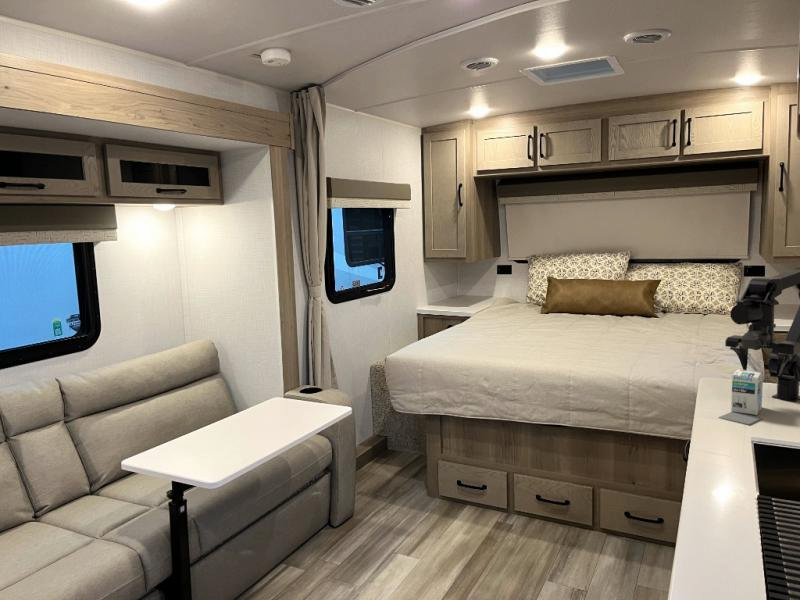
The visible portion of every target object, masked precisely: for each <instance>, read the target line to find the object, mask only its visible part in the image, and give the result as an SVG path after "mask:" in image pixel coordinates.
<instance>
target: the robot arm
mask: <svg viewBox="0 0 800 600" xmlns="http://www.w3.org/2000/svg"><path fill="white" fill-rule="evenodd" d="M794 286H795V288H796V289H797V290H798V293H797V295H798V298H799V300H800V267H796V268H793V269H792V270H789V271H785V272H783V273H780V274H776V275H774V276H769V277H767V276H766V277H763V276H761V277H753V278H751V279H750V280H749V282H748V284H747V286H746V288H745V289H744V291H743V294H742V295H741V297H740V300H737V301H736V305H734V306H733V307H732V308H731V310H730V312H729V313H730V318H731V320H732V321H733V323H735V324H736V325H739V326H740V325H747V324H749V326H748V330H747V332H745V333H744V334H743V335H736V334H735V335H730V336H728V337H726V338H725V343H724V344H725V347H729V349H730V351H731V350H732V351H734V352H735V354H736V355H737V358H738V359H739V362H740V364H741V368H742V370H747V369H748V362H749V361H748V359H749V349H750V350H753V351H760V350H761V349H762V348H763V349H771V352H770V355H769V356H768V360H767V368H768V372H769V377H771V378H772V377H773V378H776V394H773V395H771V398H772V399H776V400H777V399H778V400H784V401H789V402H794V403H795V402H797V401H799V400H800V305H799V306H798V308H797V311H796V314H795V315H794V318H793V321H792V323H791V325H790V327H789V330H788V332H787V334H786V337H785V339H784V340H783V341H780V342H776V337H775V336H774V335H775V328H777V327H776V326H777V324H776V323H775V306H777V305H779V304H780V302H779V301H778V300H776V299H775V298H777V297H779V296H780V295H782V293H783V291H784V290H786V289H788V288H789V289H790V288H792V287H794Z"/></svg>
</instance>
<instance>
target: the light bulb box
mask: <svg viewBox="0 0 800 600" xmlns="http://www.w3.org/2000/svg"><path fill="white" fill-rule="evenodd" d="M731 377H732V379H731V380H732V381H731V401H730V402H731V403H730V405H731V406H730V407H731V408H730V412H738V413H742V414H747V415H752V416H758V414H759V412H760V411H761V410H762V408H763V407H762V406H763V405H762V404H763V386H764V385H763V380H764V372H763V371H759V370H757V371H756V370H755V371H754V370H743V368H742V369H741V368H739V369H737V370H736V371H734V372H733V374H732V375H731Z"/></svg>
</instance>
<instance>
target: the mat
mask: <svg viewBox="0 0 800 600" xmlns="http://www.w3.org/2000/svg"><path fill="white" fill-rule="evenodd" d="M763 418H764V417H762V416H758V415H753V414H746V413H739V412H732V411H730V412H728V413H726V414H723V415H721V416H719V417H718V419H720V420H725V421H730V422H733V423H737V424H741V425H744V426H745V425H746V426H751V425H752V424H753V425H754V424H755V423H757V422H759V421H762V420H763Z"/></svg>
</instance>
